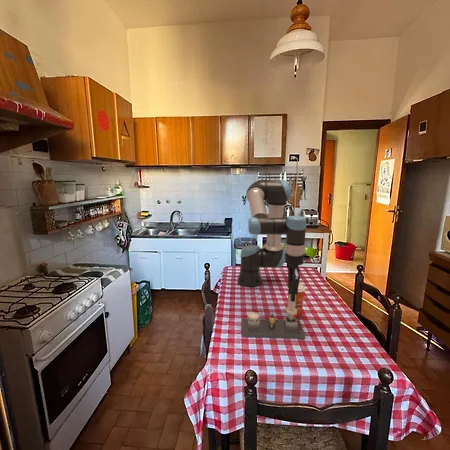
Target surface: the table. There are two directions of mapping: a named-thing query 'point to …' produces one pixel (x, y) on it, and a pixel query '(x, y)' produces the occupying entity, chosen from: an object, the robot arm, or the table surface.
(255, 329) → the panel
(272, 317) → the potentiometer
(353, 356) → the table surface
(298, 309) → the coffee cup
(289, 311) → the knob
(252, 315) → the knob
